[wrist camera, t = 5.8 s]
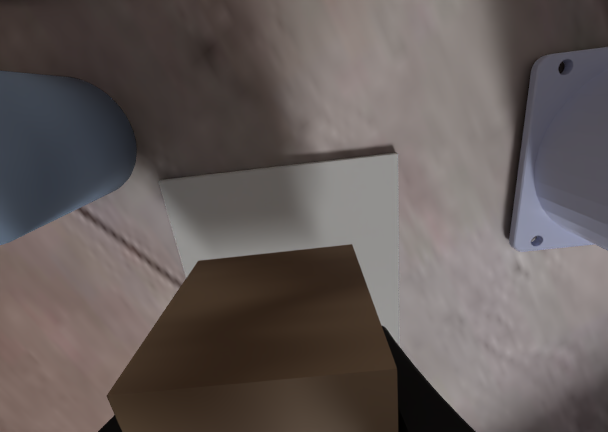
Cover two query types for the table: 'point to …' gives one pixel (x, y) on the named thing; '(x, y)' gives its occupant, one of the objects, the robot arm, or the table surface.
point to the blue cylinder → (57, 149)
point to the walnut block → (264, 351)
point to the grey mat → (296, 217)
